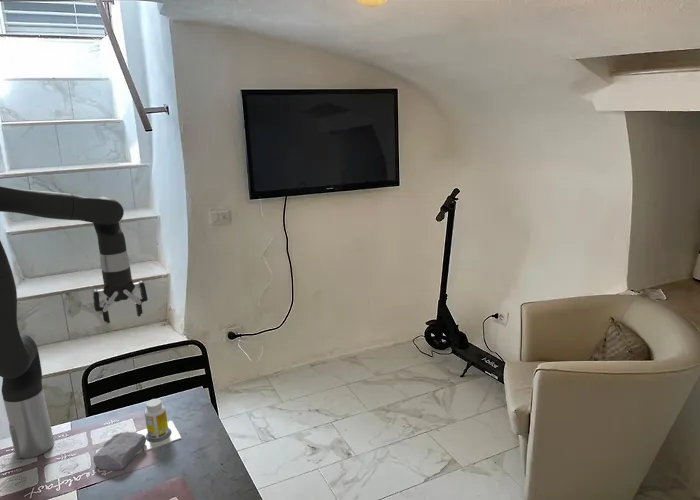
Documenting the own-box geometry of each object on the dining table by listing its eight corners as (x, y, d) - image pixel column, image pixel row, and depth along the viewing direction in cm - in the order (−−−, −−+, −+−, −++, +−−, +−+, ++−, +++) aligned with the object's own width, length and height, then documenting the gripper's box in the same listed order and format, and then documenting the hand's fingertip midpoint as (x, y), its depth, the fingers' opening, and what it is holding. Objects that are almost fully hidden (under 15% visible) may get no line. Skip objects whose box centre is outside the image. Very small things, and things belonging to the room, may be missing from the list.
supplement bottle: (170, 427, 155) (165, 396, 152) (167, 438, 150) (162, 406, 147) (150, 429, 154) (145, 398, 151) (146, 441, 149) (141, 409, 146)
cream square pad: (144, 451, 145) (144, 450, 145) (136, 432, 154) (136, 431, 153) (181, 438, 151) (181, 437, 150) (171, 421, 159) (171, 420, 159)
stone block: (92, 474, 140) (124, 471, 137) (86, 458, 139) (118, 455, 136) (120, 446, 151) (150, 443, 148) (114, 431, 150) (145, 428, 147)
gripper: (90, 275, 146) (99, 329, 150) (144, 265, 153) (151, 317, 158) (86, 268, 152) (95, 320, 156) (138, 259, 159) (146, 309, 164)
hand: (123, 319), depth 157 cm, fingers open, 8 cm apart
